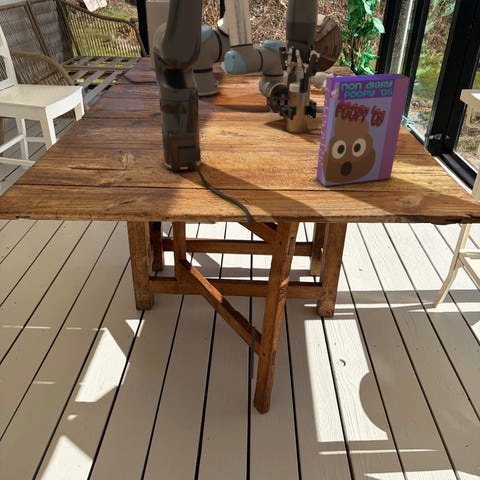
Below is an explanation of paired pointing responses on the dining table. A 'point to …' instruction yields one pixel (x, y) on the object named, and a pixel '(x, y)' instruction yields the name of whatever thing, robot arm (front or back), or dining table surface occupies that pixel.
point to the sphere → (327, 42)
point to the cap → (294, 87)
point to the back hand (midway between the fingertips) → (303, 114)
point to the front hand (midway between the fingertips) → (297, 90)
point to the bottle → (299, 107)
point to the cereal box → (360, 127)
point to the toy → (316, 80)
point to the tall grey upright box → (156, 20)
